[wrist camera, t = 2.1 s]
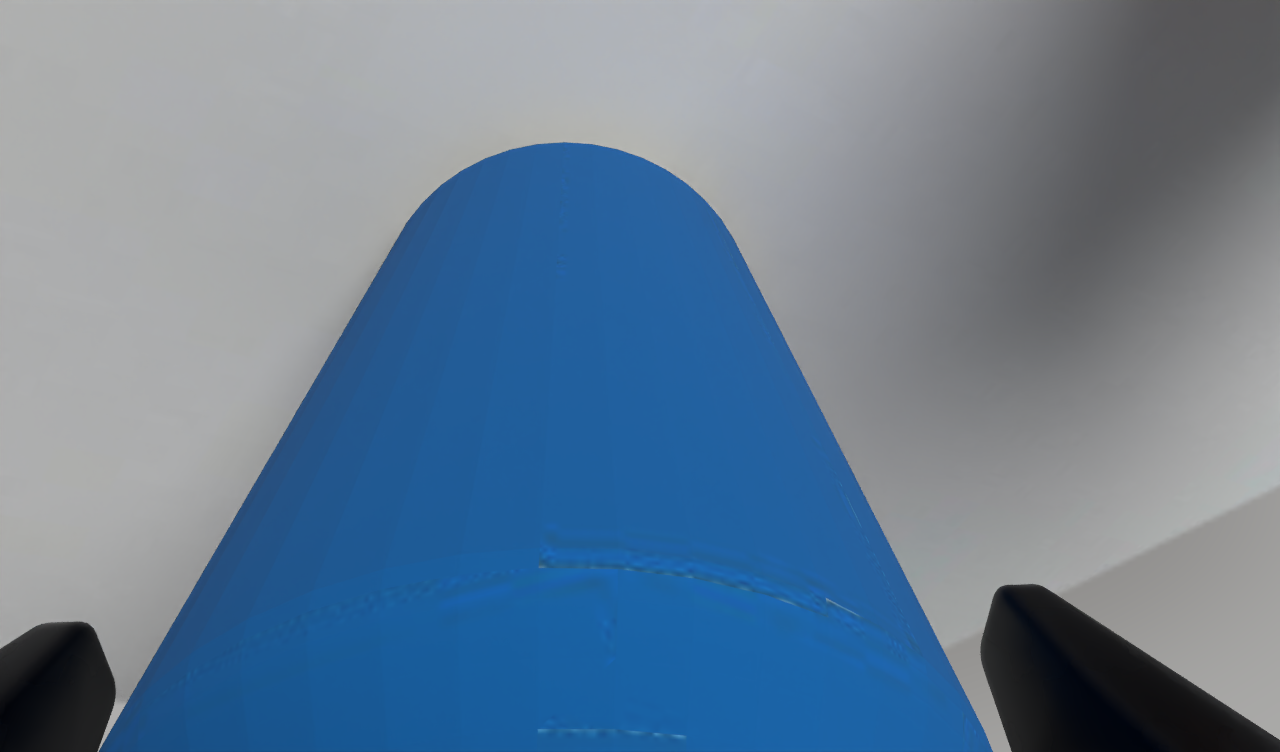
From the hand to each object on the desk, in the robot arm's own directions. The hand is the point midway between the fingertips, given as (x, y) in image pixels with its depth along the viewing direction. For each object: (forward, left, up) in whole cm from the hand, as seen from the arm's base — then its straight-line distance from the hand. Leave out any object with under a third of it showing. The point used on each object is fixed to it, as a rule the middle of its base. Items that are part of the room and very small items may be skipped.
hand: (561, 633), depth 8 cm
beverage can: (0, 0, -8) cm, 8 cm away
